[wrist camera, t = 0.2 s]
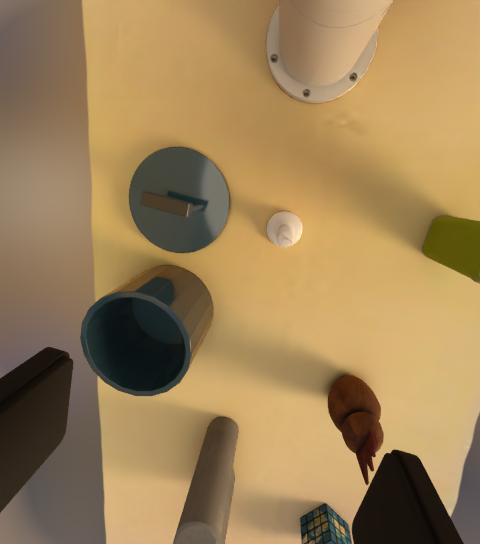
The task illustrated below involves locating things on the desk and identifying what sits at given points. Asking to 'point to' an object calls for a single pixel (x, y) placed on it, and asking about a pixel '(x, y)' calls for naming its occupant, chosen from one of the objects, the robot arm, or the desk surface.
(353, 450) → the wooden figurine
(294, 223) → the chess piece
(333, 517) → the puzzle
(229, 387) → the desk surface
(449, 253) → the vape
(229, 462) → the flask
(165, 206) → the lid
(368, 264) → the desk surface
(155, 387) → the pot
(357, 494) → the desk surface
